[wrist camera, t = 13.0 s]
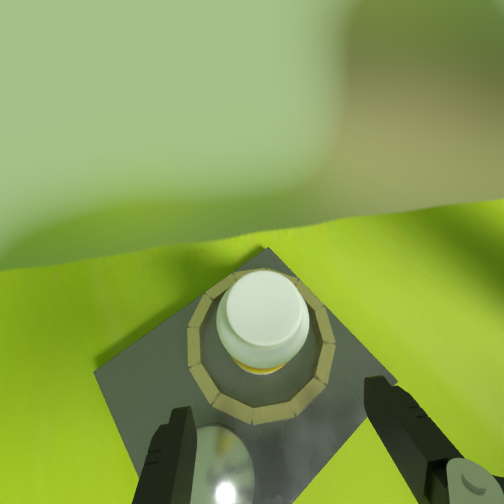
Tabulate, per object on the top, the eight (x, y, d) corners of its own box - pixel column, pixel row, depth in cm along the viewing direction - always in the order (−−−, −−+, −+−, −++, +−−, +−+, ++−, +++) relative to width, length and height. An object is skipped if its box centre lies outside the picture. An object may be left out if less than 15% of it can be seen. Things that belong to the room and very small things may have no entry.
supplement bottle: (288, 381, 20) (316, 376, 11) (221, 368, 20) (195, 352, 11) (295, 313, 22) (321, 264, 14) (235, 303, 23) (223, 249, 14)
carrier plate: (268, 251, 27) (269, 239, 25) (391, 381, 21) (408, 380, 18) (99, 372, 21) (81, 371, 19) (200, 599, 15) (191, 635, 13)
